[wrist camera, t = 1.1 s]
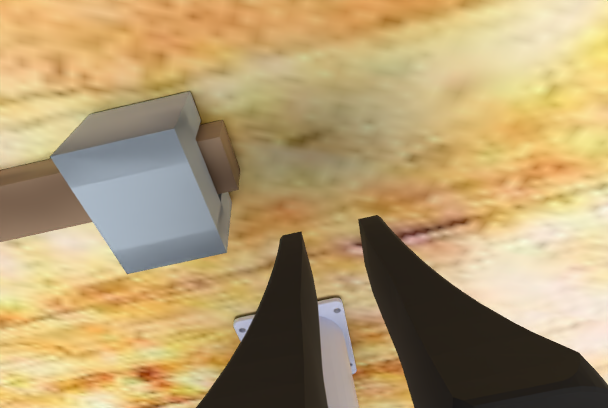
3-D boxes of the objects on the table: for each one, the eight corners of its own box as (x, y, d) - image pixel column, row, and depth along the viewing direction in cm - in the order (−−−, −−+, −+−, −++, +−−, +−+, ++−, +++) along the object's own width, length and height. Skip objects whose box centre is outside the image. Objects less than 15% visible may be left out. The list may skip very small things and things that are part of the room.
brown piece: (252, 206, 23) (250, 258, 19) (-102, 283, 24) (-168, 347, 20) (205, 70, 18) (192, 105, 15) (-232, 171, 19) (-350, 229, 15)
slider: (231, 202, 22) (226, 252, 19) (147, 220, 22) (127, 274, 19) (190, 91, 18) (174, 128, 15) (89, 114, 19) (49, 156, 15)
